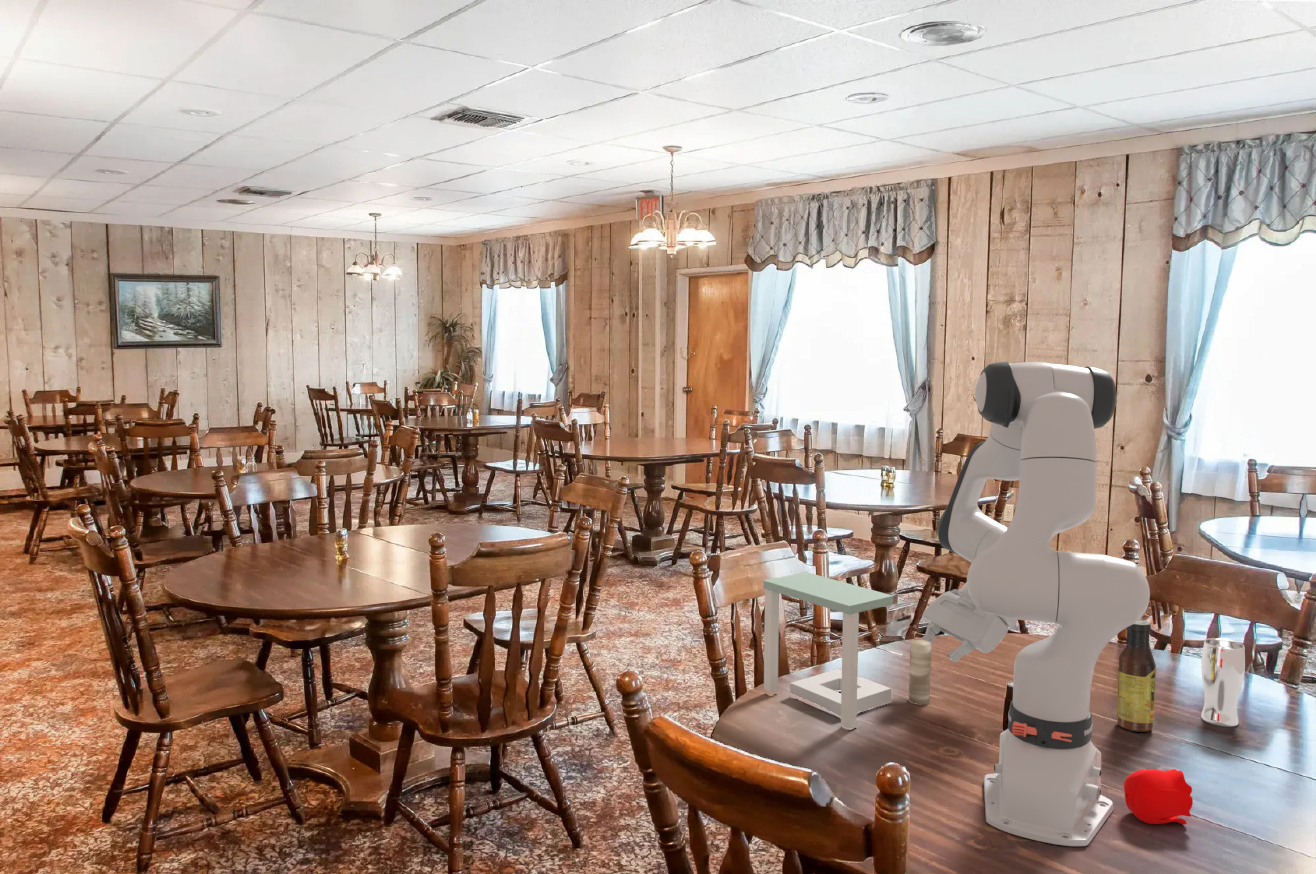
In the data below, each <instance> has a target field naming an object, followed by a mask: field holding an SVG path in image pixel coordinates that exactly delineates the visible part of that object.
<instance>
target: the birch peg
mask: <svg viewBox="0 0 1316 874" xmlns="http://www.w3.org/2000/svg"><path fill="white" fill-rule="evenodd" d="M909 645H910V646H909V651H910V652H909V676H908V677H909V678H908V679H909V681H908V684H909V685H908V701H909V700H910V701H911V702H913V703H917V704H921V705H920V706H927V704H928V705H929V704H930V700H931V699H930V697H931V668H932V667H931V666H932V645H931V643H930V642H929V641H925V640H921V639H912V640H910V643H909Z"/></svg>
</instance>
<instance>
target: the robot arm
mask: <svg viewBox="0 0 1316 874" xmlns="http://www.w3.org/2000/svg"><path fill="white" fill-rule="evenodd" d="M974 390H975V391H974V398H975V399H974V400H975V403H976V407H977V412H978V414H980V416H982V417H983V419H984V420H986V421H987V422H990V423H991V424H990V431H989V435H988V437H987V438H986V440H984V441H980V442H978V443H977V444H975V445H974V446H973V448H972V449H970V451H969V453H968V455H967V456H966V458H965V461H964V462H963V465H962V466H961V467H962V468H961V469H960V473H959V475H958V478H957V479H956V480H957V481H956V482H955V486H954V488H953V490H952V494H951V496H950V499H949V502H948V504H947V506H946V508H945V509H944V510H943V513H942V514H941V517H940V518H939V520H938V522H937V525H936V534H937V538H938V539H937V540H938V541H939V544H940V546H941V547H942V548H944V549H945V550H947V551H950V552H952V554H956V555H958V556H960V557H962V558H963V559H964V560H966V561H968V562H970V563H971V564H970V566H969V567H968V571H967V575H966V582H965V583H964V584H963V586H962V587H960V588H959V589H956V588H955V589H952V590H948V591H946V592H944V593H942V594H940V595H939V596H938V597H937V598H935V600H933V601H932V602H931V603H930V604H929V605H928V606H927V607H926V608H925V609H924V611H923V612H922V613H923V614H922V617H923V619H924V620H925V621H926V622H927V624H928V625H927V627H926V631H925V633H924V635H923V637H922V638H920V640H925V641H929V642H930V643H931V646H932V645H934V643H935V640H934V639H935V636H936V635H938V634H939V633H940V632H942V633H944V634H946V635H948V636H951V637H952V638H954V639H956V640H958V641H960V644H961V645H959V646H958V647H957V648H955V649H953V648H951V649H950V650H949V652H948V653H947V654H946V657H947V658H948V659H949V660H950V661H952V662H953V663H957V662H959V660H960V659H961V658H962V657H965V656H967V655H968V654H971V653H972V651H974V650H977V651H978V652H981V653H983V654H988V653H990V652H992V651H994V650H995V648H996V647H997V646H998V645H999V644H1000V643H1001V642H1002V640H1003V639H1004V638H1005V637H1006V635H1007V634H1008V631H1009V628H1013V627H1014V626H1015V625H1016V624H1017V623H1018V620H1019V621H1030V622H1041V623H1051V624H1052V623H1054V624H1056V625H1058V627H1057V628H1056V630H1055V631H1054V632H1053V633H1052V634H1051V635H1049V636H1048V637H1046V638H1043V639H1040V640H1038V641H1034V642H1032V643H1031V644H1028V645H1026V646H1025V647H1024V648H1022V649H1021V650H1020V651H1019V652H1018V653H1017V655H1016V656H1015V659H1014V662H1013V683H1012V684H1013V686H1012V700H1010V703H1009V708H1008V709H1009V710H1008V713H1007V714H1008V715H1007V716H1008V717H1007V718H1008V724H1007V729H1005V730H1004V731H1002V732H1001V733H1000V734H999V748H998V749H999V750H998V751H999V753H998V763H995V764H994V765H993V771H994V773H987V774H985V775H984V777H983V778H984V779H983V794H984V809H985V810H984V811H985V812H984V813H985V814H984V815H985V821H986V823H987V824H989V825H991V827H994V828H996V829H998V830H1000V831H1002V832H1006V833H1008V834H1012V835H1015V836H1017V837H1021V838H1026V839H1030V840H1034V841H1037V842H1042V843H1048V844H1053V845H1060V846H1067V847H1086V846H1088V845H1089V844H1090V843H1091V842H1092V840H1093V839H1094V837H1095V836H1096V834H1098V832H1099V831H1100V829H1101V827H1102V826H1103V825H1104V823H1105V822H1106V820H1108V818H1109V816H1110V815H1111V814H1112V813H1113V811H1114V802H1113V801H1112V800H1111V799H1110V798H1107V796H1105V795H1103V794H1102V791H1101V789H1102V788H1101V787H1102V786H1101V785H1102V784H1101V783H1102V753H1101V751H1100V750H1099V749H1098V748H1097V747H1096V746H1095V745H1094V743H1093V742H1092V741H1091V739H1092V736H1093V735H1092V734H1093V733H1092V732H1093V728H1094V726H1093V724H1094V723H1093V714H1092V712H1091V711H1090V705H1091V704H1090V703H1091V695H1092V694H1091V692H1092V685H1093V684H1092V683H1093V677H1094V670H1095V667H1096V664H1097V661H1098V660H1099V657H1100V655H1101V653H1102V651H1103V650H1104V648H1105V647H1106V646H1107V645H1108V644H1109V642H1110V641H1111V640H1112V639H1113V638H1114V637H1116V636H1117V635H1118V634H1120V633H1121V632H1122V631H1124V630H1126V628H1127V627H1129V626H1131V625H1133V624H1134V623H1136V622H1137V621H1138V620H1141V618H1142V617H1143V616H1144V614H1145V612H1146V611H1147V609H1148V606H1149V603H1150V598H1151V597H1150V596H1151V590H1150V585H1149V581H1148V579H1147V577H1146V575H1145V572H1143V570H1142V569H1141V568H1140V567H1139V565H1138V564H1137V563H1135V562H1134V561H1133V560H1127V559H1123V558H1121V557H1116V556H1111V555H1107V554H1101V553H1090V552H1072V551H1058V550H1054V549H1052V546H1051V543H1052V540H1053V538H1054V537H1055V536H1057V535H1058V534H1060V533H1063V532H1065V531H1069V530H1071V529H1073V528H1076V527H1078V526H1079V525H1082V524H1083V523H1085V522H1087V521H1088V520H1089V519H1090V518H1091V517H1092V516H1093V515H1094V513H1095V511H1096V507H1097V445H1096V444H1097V443H1096V442H1097V441H1096V433H1095V429H1100V428H1102V427H1104V426H1105V425H1106V424H1107V423H1109V422H1110V421H1111V419H1112V418H1113V415H1114V412H1115V410H1116V405H1117V398H1118V397H1117V389H1116V382H1115V380H1114V379H1113V377H1112V376H1111V375H1110V373H1109V372H1108V371H1106V370H1103V369H1101V368H1097V367H1092V366H1085V367H1081V366H1077V365H1068V364H1060V363H1049V362H1046V361H1045V362H1044V361H1023V362H1021V361H1020V362H1010V363H1009V361H1000V362H999V361H998V362H994V363H990V364H987V365H986V366H985V367H984V368H983V369H982V371H980V374H979V378H978V379H977V382H976V385H975V389H974ZM988 479H993V480H1001V481H1007V482H1008V481H1009V482H1015V481H1018V483H1019V484H1018V491H1017V492H1018V493H1017V500H1016V507H1015V510H1014V514H1013V516H1012V519H1011V521H1010V523H1009V525H1008V526H1006V525H1004V524H1002V523H1000V522H999V521H997V520H995V519H993V518H991V517H989V516H988V515H986V514H985V513H983V511H982V510H981V509H980V507H979V505H978V502H979V500H980V498H981V495H982V493H983V490H984V487H985V485H986V483H987V481H988Z"/></svg>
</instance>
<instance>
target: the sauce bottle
mask: <svg viewBox="0 0 1316 874" xmlns="http://www.w3.org/2000/svg"><path fill="white" fill-rule="evenodd" d="M1125 630H1126V640H1125V644H1126V645H1125V647H1124V648H1123V649H1122V651H1120V654H1119V657H1118V669H1117V690H1116V691H1117V692H1116V694H1117V695H1116V717H1117V724H1118V726H1120V727H1121V728H1122V729H1125V730H1128V731H1131V732H1137V733H1138V732H1140V733H1146V732H1150V731H1151V730H1152V729H1153V728H1154V723H1153V722H1154V721H1155V709H1156V708H1155V705H1156V700H1155V699H1156V684H1157V683H1156V682H1157V681H1156V679H1157V678H1156V676H1157V675H1156V673H1157V665H1156V662H1155V658H1154V656H1153V651H1152V649H1151V646H1150V632H1151V622H1150V621H1147V620H1143V619H1139V620H1138V621H1137V622H1136V623H1134V624H1133V625H1131V626H1129V627H1127V628H1125Z"/></svg>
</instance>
